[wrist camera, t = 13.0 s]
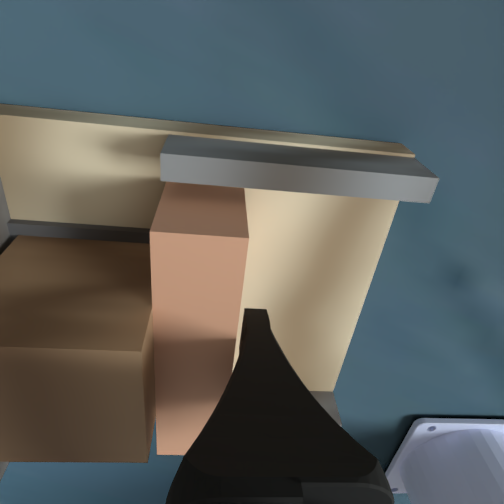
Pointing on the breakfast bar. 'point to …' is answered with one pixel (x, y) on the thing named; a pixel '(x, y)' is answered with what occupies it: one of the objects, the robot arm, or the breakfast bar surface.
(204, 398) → the block
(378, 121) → the breakfast bar surface
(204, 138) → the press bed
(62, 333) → the block
